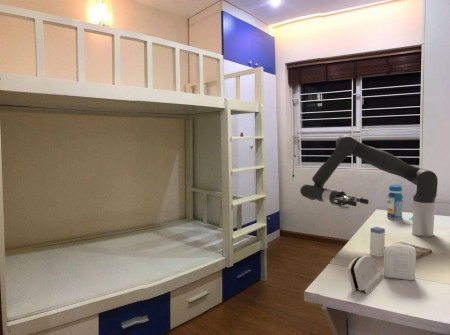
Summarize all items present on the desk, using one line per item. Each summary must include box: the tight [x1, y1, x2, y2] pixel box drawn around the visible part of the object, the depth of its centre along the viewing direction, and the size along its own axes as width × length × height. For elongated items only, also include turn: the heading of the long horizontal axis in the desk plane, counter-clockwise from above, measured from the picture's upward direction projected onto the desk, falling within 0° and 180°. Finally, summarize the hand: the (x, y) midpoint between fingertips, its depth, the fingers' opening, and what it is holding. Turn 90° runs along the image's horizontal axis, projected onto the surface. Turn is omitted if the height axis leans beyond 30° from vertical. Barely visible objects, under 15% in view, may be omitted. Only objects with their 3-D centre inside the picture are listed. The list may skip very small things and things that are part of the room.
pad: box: [384, 241, 433, 260], centre depth 143 cm, size 14×14×1 cm
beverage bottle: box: [386, 184, 404, 220], centre depth 199 cm, size 8×8×20 cm
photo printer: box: [382, 243, 417, 281], centre depth 117 cm, size 10×4×12 cm, turn 73°
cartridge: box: [369, 226, 386, 258], centre depth 140 cm, size 4×4×12 cm
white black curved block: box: [347, 255, 385, 296], centre depth 114 cm, size 17×5×10 cm, turn 137°
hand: (362, 202), depth 149 cm, fingers open, 8 cm apart
